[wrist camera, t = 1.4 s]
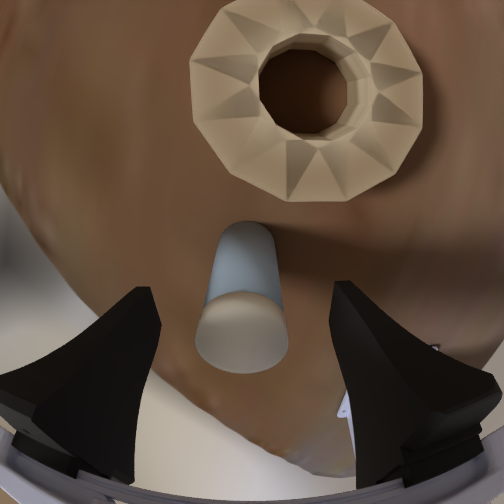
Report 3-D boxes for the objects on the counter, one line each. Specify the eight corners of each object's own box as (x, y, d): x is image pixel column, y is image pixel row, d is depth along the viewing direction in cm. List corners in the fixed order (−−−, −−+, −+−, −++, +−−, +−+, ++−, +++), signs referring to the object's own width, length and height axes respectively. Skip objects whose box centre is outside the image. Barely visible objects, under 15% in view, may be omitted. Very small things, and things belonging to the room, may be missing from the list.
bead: (387, 183, 13) (414, 202, 10) (212, 185, 13) (201, 205, 11) (386, 20, 9) (415, 6, 6) (201, 11, 9) (187, -12, 6)
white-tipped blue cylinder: (275, 270, 16) (286, 372, 10) (220, 272, 16) (203, 373, 10) (275, 219, 14) (290, 309, 8) (215, 221, 14) (187, 311, 8)
